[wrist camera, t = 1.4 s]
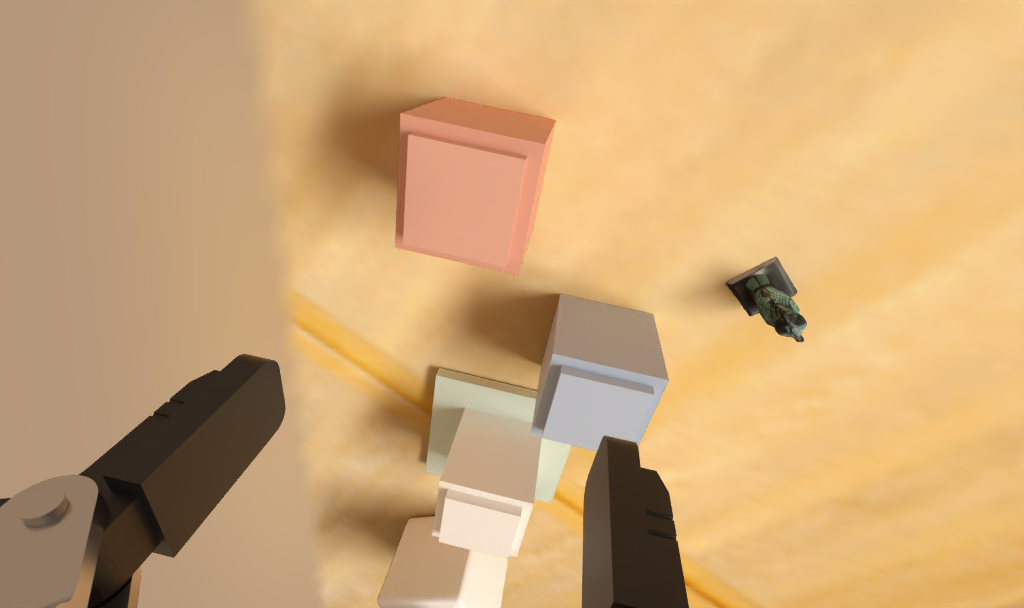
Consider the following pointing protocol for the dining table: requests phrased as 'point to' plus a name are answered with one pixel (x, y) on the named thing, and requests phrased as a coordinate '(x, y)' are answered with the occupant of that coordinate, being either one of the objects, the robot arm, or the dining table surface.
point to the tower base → (490, 402)
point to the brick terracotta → (470, 182)
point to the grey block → (598, 374)
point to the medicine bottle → (440, 573)
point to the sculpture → (770, 297)
